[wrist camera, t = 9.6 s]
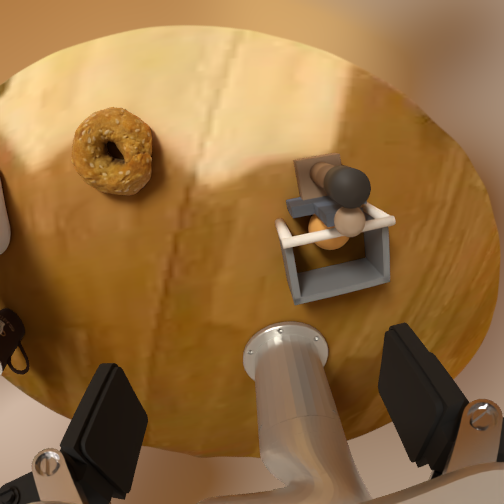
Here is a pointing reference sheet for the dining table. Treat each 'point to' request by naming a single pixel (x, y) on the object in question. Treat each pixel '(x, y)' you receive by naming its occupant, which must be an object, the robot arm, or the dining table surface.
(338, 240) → the ball
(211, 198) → the dining table surface
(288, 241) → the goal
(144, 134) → the bagel
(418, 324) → the dining table surface
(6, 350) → the coffee mug
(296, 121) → the dining table surface
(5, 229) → the plastic bottle
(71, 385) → the dining table surface
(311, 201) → the striker
